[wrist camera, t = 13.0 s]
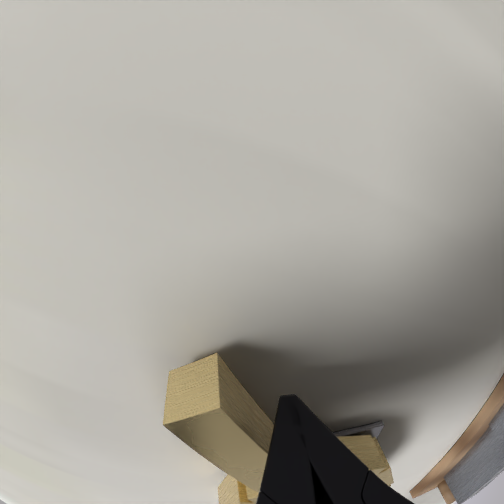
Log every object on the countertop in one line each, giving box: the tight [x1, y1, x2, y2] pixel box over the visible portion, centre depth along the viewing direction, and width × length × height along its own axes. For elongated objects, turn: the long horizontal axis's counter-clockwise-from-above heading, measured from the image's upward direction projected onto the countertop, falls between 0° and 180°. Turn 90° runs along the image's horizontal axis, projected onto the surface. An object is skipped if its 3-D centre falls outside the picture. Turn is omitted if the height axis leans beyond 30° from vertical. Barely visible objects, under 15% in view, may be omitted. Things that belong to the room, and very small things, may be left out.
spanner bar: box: [443, 403, 504, 504], centre depth 13 cm, size 12×4×4 cm, turn 178°
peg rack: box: [410, 374, 504, 504], centre depth 14 cm, size 19×7×4 cm, turn 178°
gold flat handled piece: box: [163, 353, 394, 504], centre depth 10 cm, size 14×8×2 cm, turn 25°
